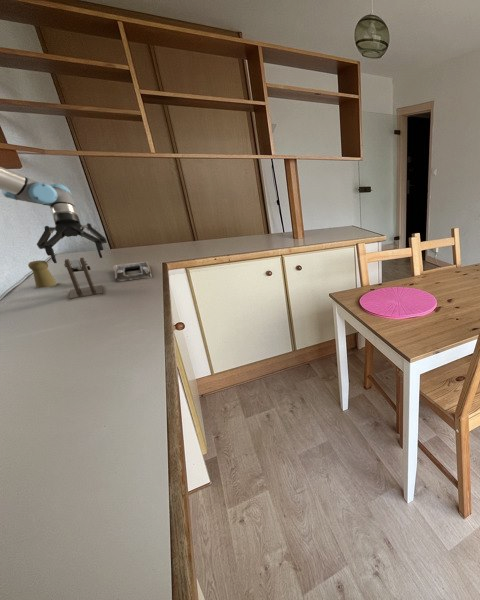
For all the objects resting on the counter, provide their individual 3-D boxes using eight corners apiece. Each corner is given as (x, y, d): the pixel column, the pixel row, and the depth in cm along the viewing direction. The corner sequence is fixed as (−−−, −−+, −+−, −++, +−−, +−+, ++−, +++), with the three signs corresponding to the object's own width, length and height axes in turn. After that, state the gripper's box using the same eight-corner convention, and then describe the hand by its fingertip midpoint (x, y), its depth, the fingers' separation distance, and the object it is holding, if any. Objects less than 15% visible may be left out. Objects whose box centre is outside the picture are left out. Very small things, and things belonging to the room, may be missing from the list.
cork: (32, 288, 125) (20, 262, 121) (51, 284, 131) (40, 258, 127) (43, 290, 124) (32, 263, 120) (62, 285, 130) (51, 259, 126)
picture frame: (149, 266, 158) (147, 261, 157) (154, 278, 141) (152, 272, 139) (114, 271, 150) (112, 265, 149) (115, 284, 132) (113, 277, 131)
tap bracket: (71, 292, 122) (58, 258, 117) (102, 287, 128) (90, 254, 123) (70, 301, 114) (55, 264, 109) (103, 295, 120) (90, 260, 115)
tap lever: (72, 273, 124) (70, 267, 124) (91, 271, 128) (89, 265, 128) (65, 268, 114) (63, 261, 114) (86, 265, 118) (84, 259, 117)
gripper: (107, 220, 143) (119, 258, 138) (25, 225, 127) (36, 268, 122) (103, 209, 137) (116, 249, 133) (18, 213, 121) (29, 258, 117)
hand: (78, 258), depth 128 cm, fingers open, 13 cm apart
